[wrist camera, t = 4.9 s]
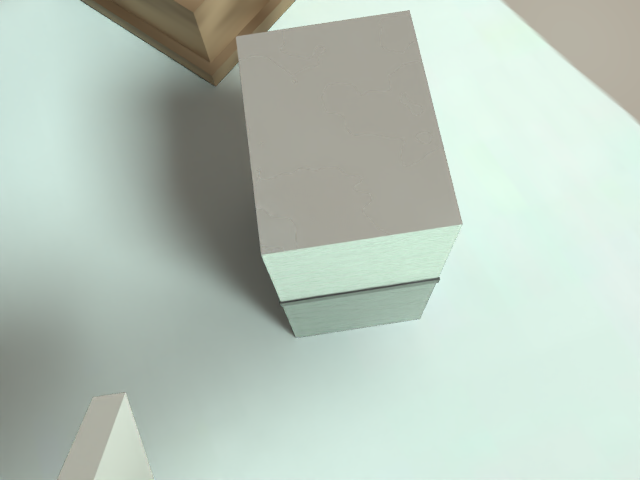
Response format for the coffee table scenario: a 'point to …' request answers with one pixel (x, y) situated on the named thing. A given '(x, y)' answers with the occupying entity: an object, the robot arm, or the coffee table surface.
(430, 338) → the coffee table surface
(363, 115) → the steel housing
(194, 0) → the walnut stand
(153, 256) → the coffee table surface
